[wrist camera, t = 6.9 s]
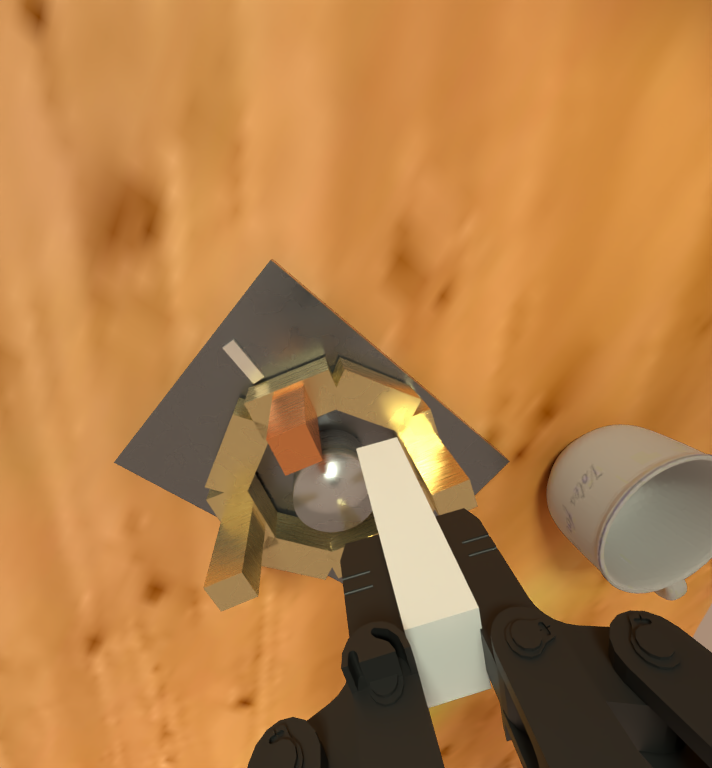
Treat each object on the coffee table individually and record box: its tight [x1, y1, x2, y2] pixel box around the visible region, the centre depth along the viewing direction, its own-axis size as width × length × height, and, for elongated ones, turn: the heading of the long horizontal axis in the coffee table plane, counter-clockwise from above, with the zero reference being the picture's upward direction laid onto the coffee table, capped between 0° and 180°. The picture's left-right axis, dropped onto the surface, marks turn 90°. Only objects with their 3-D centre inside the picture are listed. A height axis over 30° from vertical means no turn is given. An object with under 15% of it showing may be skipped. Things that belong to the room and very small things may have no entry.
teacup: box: [547, 425, 712, 600], centre depth 28 cm, size 14×11×8 cm
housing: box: [114, 259, 509, 583], centre depth 25 cm, size 16×22×6 cm
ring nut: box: [204, 357, 478, 611], centre depth 22 cm, size 14×14×8 cm
